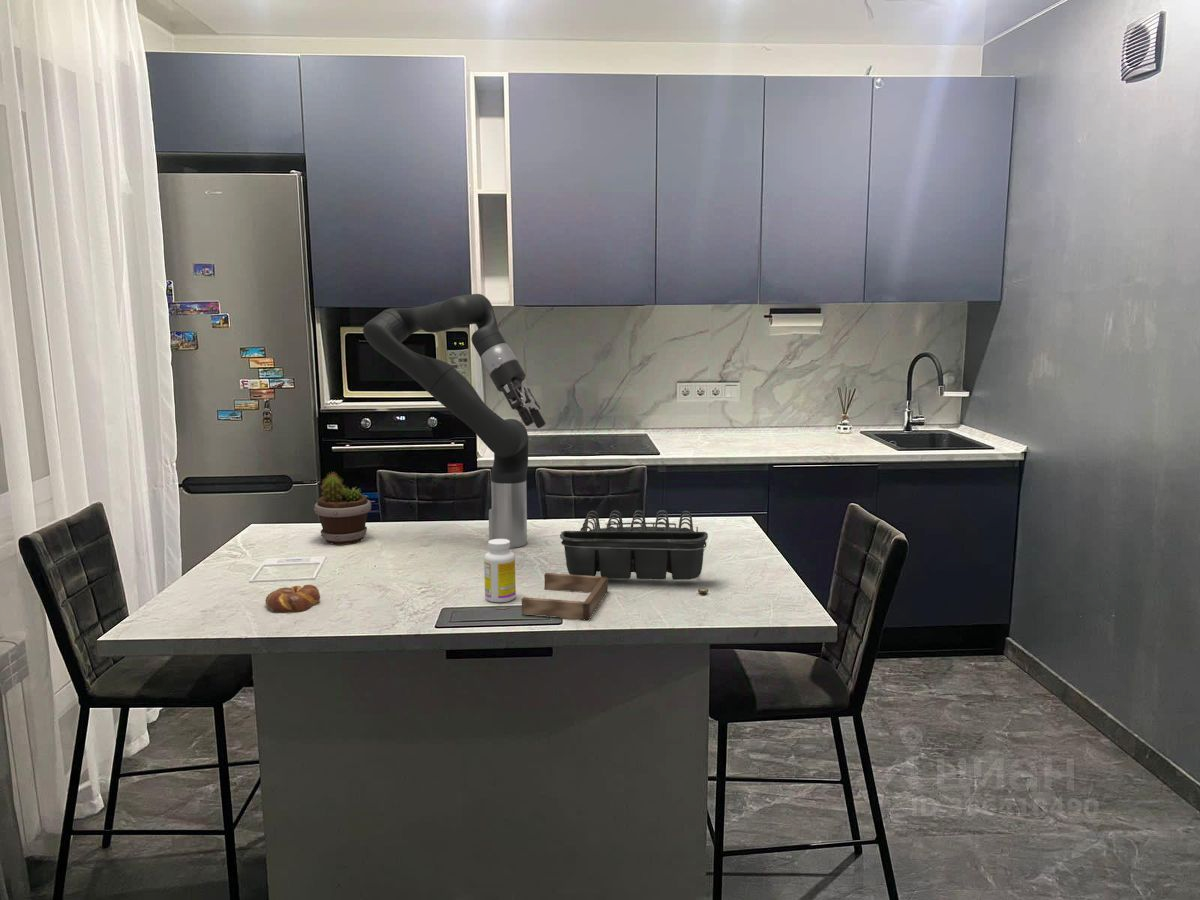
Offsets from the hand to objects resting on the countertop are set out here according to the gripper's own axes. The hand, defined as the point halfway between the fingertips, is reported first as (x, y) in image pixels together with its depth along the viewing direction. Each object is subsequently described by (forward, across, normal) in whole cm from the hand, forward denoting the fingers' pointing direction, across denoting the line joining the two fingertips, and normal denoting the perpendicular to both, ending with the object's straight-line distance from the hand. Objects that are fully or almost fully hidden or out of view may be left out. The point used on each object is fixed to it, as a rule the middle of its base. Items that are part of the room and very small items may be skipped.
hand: (536, 425), depth 207 cm
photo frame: (-1, +7, -70) cm, 70 cm away
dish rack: (+38, -23, -1) cm, 45 cm away
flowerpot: (-7, -20, -68) cm, 71 cm away
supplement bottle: (+31, +13, -23) cm, 41 cm away
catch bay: (+39, +12, -11) cm, 42 cm away
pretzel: (+11, +28, -59) cm, 66 cm away
